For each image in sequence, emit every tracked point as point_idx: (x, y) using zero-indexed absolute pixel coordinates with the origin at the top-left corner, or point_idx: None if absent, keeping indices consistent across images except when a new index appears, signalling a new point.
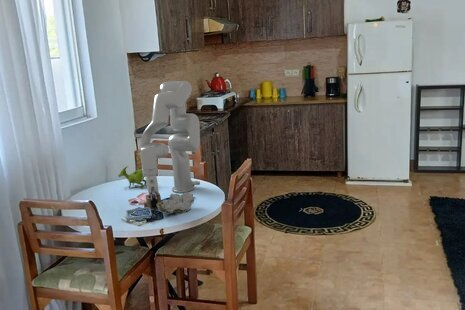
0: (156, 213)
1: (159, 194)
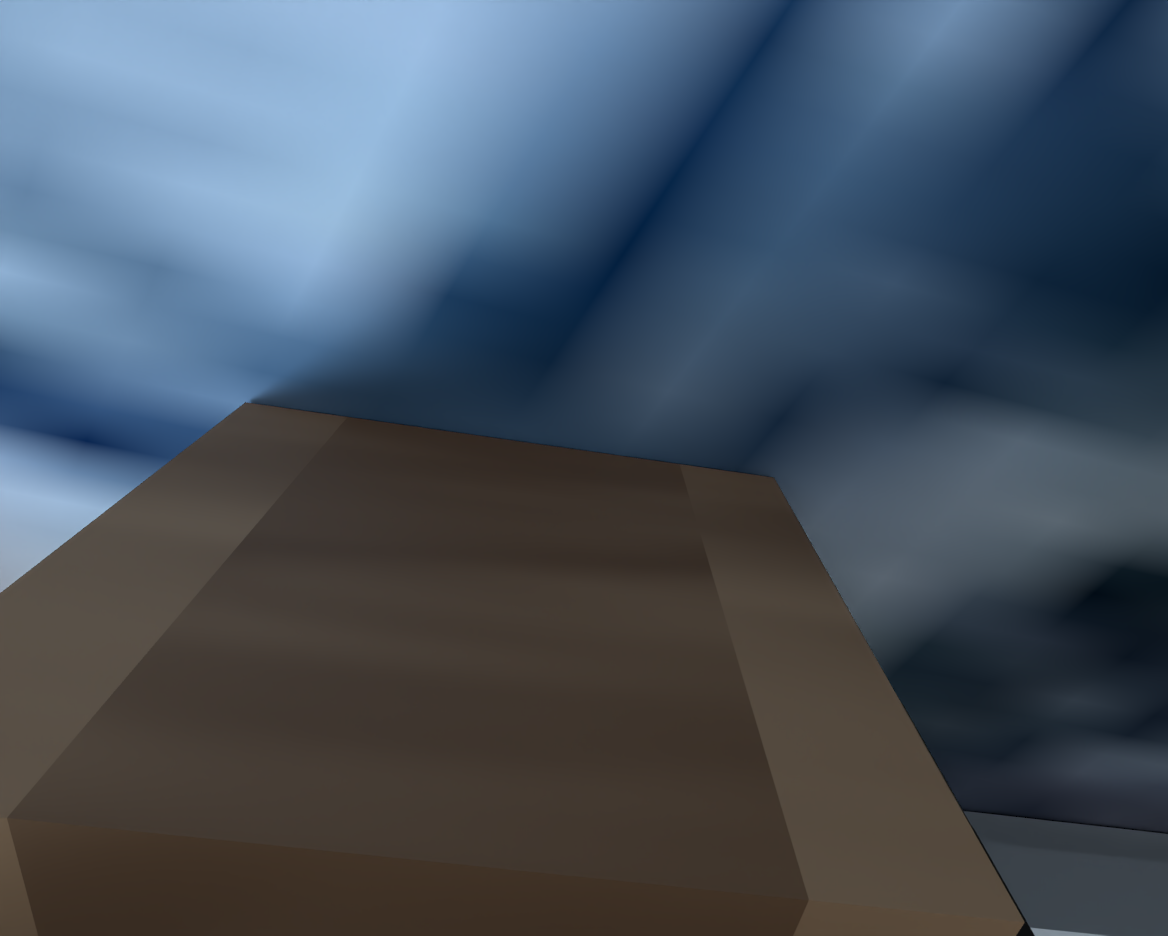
0: (1084, 706)
1: (241, 871)
